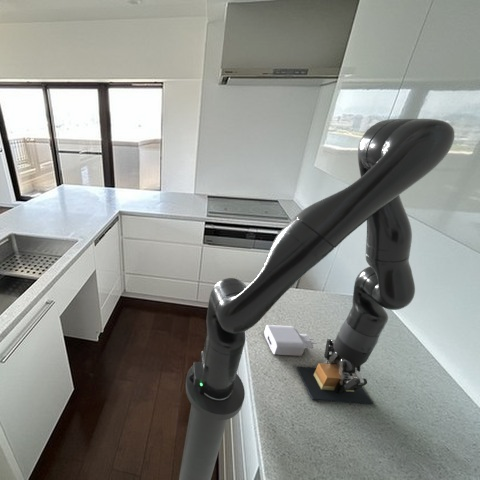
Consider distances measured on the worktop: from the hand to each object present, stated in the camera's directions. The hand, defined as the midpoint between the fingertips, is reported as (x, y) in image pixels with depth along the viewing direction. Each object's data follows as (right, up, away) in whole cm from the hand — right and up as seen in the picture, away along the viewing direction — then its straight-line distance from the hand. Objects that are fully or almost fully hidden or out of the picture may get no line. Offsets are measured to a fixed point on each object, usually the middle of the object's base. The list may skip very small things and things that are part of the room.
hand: (333, 382), depth 73 cm
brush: (0, 0, 0) cm, 0 cm away
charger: (-6, +5, +13) cm, 15 cm away
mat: (0, -1, 0) cm, 1 cm away
